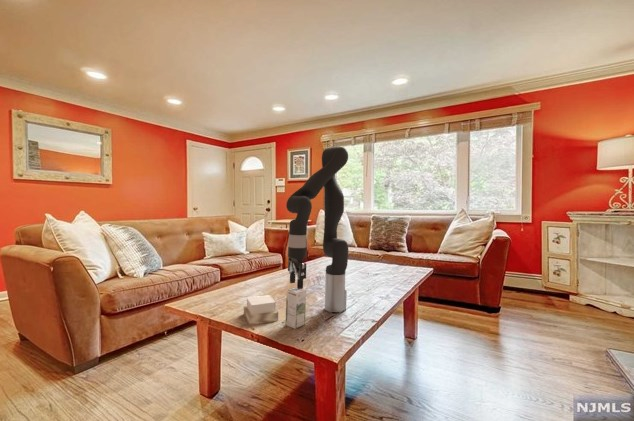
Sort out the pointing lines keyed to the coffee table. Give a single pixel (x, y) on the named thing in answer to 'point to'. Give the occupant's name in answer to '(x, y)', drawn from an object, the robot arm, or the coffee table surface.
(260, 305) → the off-white top block
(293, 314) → the syrup box
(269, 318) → the ash base block
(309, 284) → the coffee table surface
